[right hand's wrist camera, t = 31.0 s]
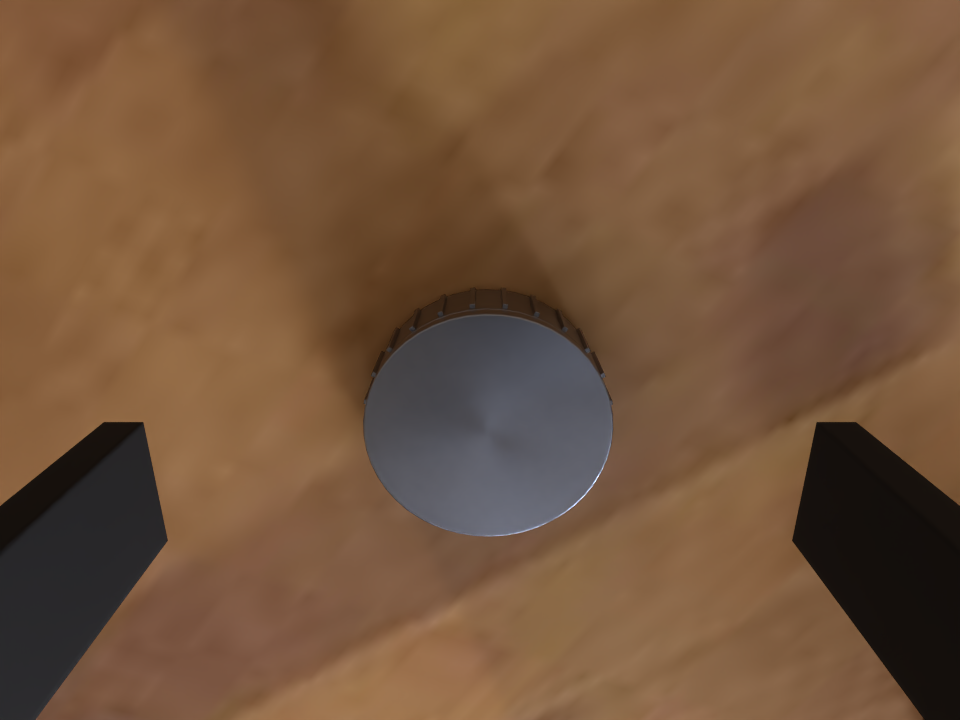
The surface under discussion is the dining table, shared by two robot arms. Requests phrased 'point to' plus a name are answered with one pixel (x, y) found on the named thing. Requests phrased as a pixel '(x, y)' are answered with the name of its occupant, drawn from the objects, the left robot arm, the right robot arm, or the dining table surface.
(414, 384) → the lid
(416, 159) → the dining table surface
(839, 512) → the right robot arm
